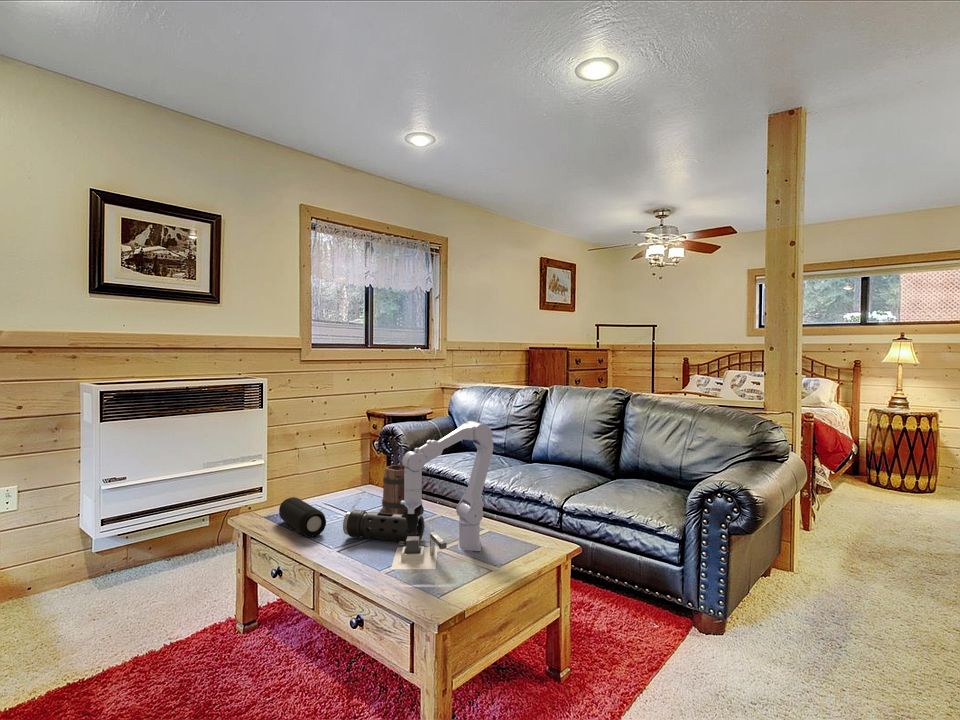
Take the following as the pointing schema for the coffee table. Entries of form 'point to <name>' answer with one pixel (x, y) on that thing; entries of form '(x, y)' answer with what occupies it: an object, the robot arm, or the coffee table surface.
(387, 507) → the tankard
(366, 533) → the muzzle brake
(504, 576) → the coffee table surface
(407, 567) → the socket base
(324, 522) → the portable speaker
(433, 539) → the clip
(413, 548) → the plug
